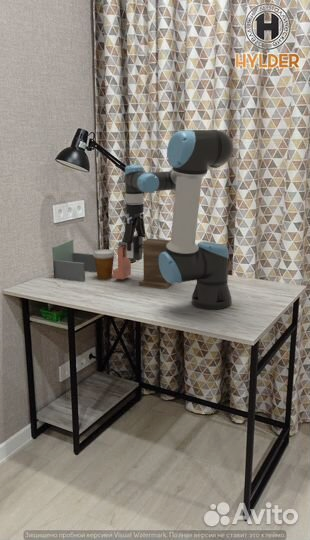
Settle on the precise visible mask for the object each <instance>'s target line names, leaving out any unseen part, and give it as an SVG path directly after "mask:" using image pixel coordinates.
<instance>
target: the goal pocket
mask: <svg viewBox="0 0 310 540" xmlns="http://www.w3.org/2000/svg"><path fill="white" fill-rule="evenodd" d="M51 250H52V264H53V265H52V266H53V267H52V268H53V269H52V270H53V279H58V280H59V279H60V280H69V281H78V282H85V281H86V272H90V273H91V272H92V273H97V271H96V265H95V259H94V256H93V254H94V253H82V252H75V251H74V239H69V240H68V241H64V242H62V243H59V244H57V245H54V246H52V249H51Z"/></svg>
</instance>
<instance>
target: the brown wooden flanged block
mask: <svg viewBox="0 0 310 540" xmlns="http://www.w3.org/2000/svg"><path fill="white" fill-rule="evenodd" d="M170 241H171V239H162V238H161V239H160V238H147V239H145V240H143V253H142V259H143V261H142V262H143V279H142V280H141V281H140V282H139V285H138V286H139V287H144V288H150V289H151V288H152V289H162V290H167V289H168V288H170V287H171V286H172V285H174V283H169V282H167V281H166V280H165V279H164V278H163V276H162V274H161V271H160V268H159V255H160V254H161V253H162V252H166V245H167V243H169V242H170Z"/></svg>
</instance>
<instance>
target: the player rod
mask: <svg viewBox="0 0 310 540" xmlns="http://www.w3.org/2000/svg"><path fill="white" fill-rule="evenodd" d="M132 243H133V258H127V243H124V241H118V243H117V245H118V246H117V267H116V268H115V269H113V270H112V279H116V280H125V279H126V278H128V277H129V276H131V275H132V261H141V260H142V259H143V253H142V248H143V244H142V236H138V235H137V234H136V235H135V234H134V236H133V241H132Z"/></svg>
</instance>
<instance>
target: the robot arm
mask: <svg viewBox="0 0 310 540" xmlns="http://www.w3.org/2000/svg"><path fill="white" fill-rule="evenodd" d="M233 152H234V143H233V141H232V139H231V137H230V136H229V135H228V134H227V133H225V132H223V131H222V130H218V129H186V130H185V129H184V130H179V131H176V132H175V133H174V134H173V135H172V136H171V137H170V139H169V141H168V144H167V149H166V158H167V162H168V163H169V165H170V167H172V169H171V170H168V171H153V172H150V171H149V172H148V171H147V172H144V167H143V166H142V165H126V166H125V168H124V183H125V184H124V185H125V186H124V187H125V188H124V189H125V191H124V192H125V195H124V197H125V203H126V204H125V213H126V214H128V218H126V217H125V220H124V221H125V226H124V227H125V228H124V237H123V242H124V243H127V258H133V243H132V241H133V236H134V235H135V231H136V235H137V236H142V244H143V241H144V238H146V228H145V220H144V216H145V215H144V210H145V209H144V208H145V207H144V193H145V194H153V193H155V192H162V191H174V190H175V192H174V201H173V202H174V203H173V215H172V223H171V224H172V225H171V227H172V228H171V234H170V235H171V237H170V240H171V241H170V242H169V243H167V245H166V252H162V253H161V254H160V255H159V268H160V271H161V274H162V276H163V278H164V279H165V280H166V281H167V282H169V283H173V284H181V283H184V282H191V281H196V285H194V286H195V287H194V290H193V292H192V295H191V303H192V305H193V306H195V307H196V308H200V309H203V310H221V309H227V308H229V307H230V306H231V305H232V304H233V303H232V298H233V297H232V295H231V292H230V291H231V290H230V289H229V283H228V282H229V280H228V279H229V277H228V276H229V275H228V274H229V259H230V256H229V249H228V247H227V246H226V245H224V244H222V243H216V242H211V241H210V242H207V241H201V242H198V243H196V237H197V236H196V235H197V230H198V229H197V227H198V218H199V210H200V209H199V208H200V199H201V192H202V191H201V190H202V182H203V181H202V180H203V178H204V177H205V175H207V173H208V171H209V170H211V169H217V168H221V166H223V165H225V164H226V163H228V162H229V161H230V159H231V158H232V156H233ZM142 254H143V248H142Z"/></svg>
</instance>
